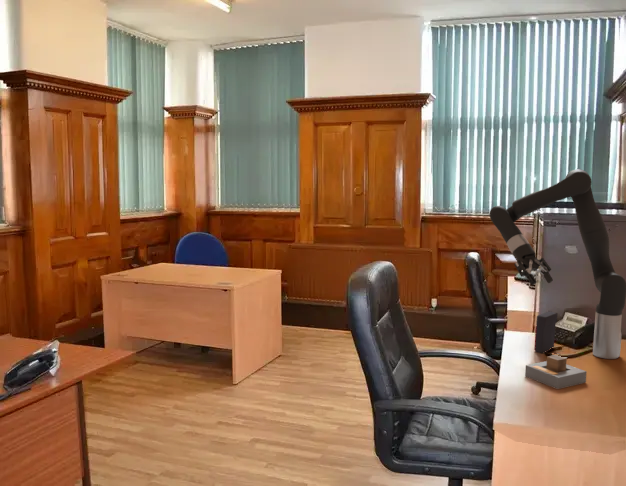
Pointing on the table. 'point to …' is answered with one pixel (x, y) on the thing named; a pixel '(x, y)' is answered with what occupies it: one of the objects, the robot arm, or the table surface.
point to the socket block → (555, 375)
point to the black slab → (545, 331)
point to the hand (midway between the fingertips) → (542, 282)
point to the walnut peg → (556, 363)
